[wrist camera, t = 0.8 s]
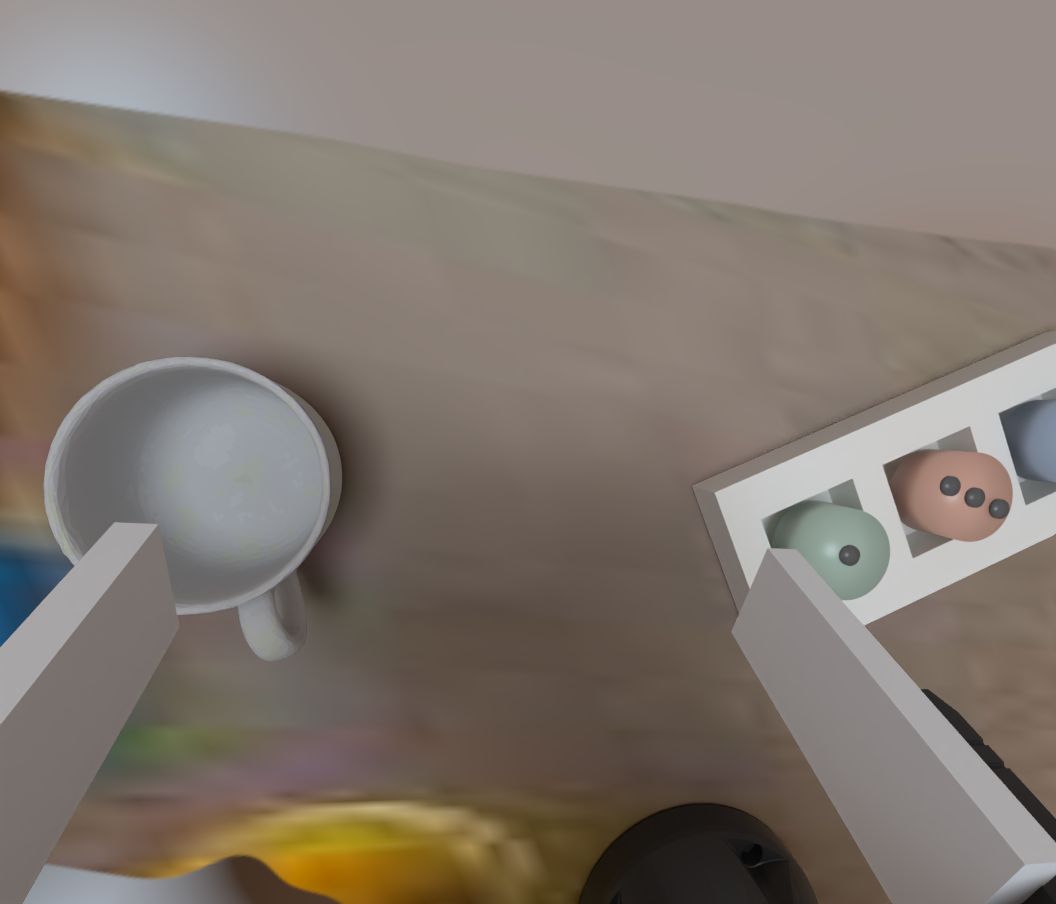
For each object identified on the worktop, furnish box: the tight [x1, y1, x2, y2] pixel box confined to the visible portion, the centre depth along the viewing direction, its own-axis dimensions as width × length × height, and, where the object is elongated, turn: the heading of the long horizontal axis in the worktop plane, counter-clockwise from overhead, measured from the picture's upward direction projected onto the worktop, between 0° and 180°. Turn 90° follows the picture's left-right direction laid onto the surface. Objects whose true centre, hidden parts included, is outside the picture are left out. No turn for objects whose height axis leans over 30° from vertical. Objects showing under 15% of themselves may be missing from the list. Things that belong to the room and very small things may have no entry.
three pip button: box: [890, 449, 1013, 542], centre depth 32 cm, size 5×5×3 cm
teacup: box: [44, 357, 342, 661], centre depth 26 cm, size 14×11×8 cm
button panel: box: [692, 331, 1056, 625], centre depth 34 cm, size 11×26×3 cm, turn 112°
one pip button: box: [773, 501, 890, 600], centre depth 31 cm, size 5×5×3 cm
